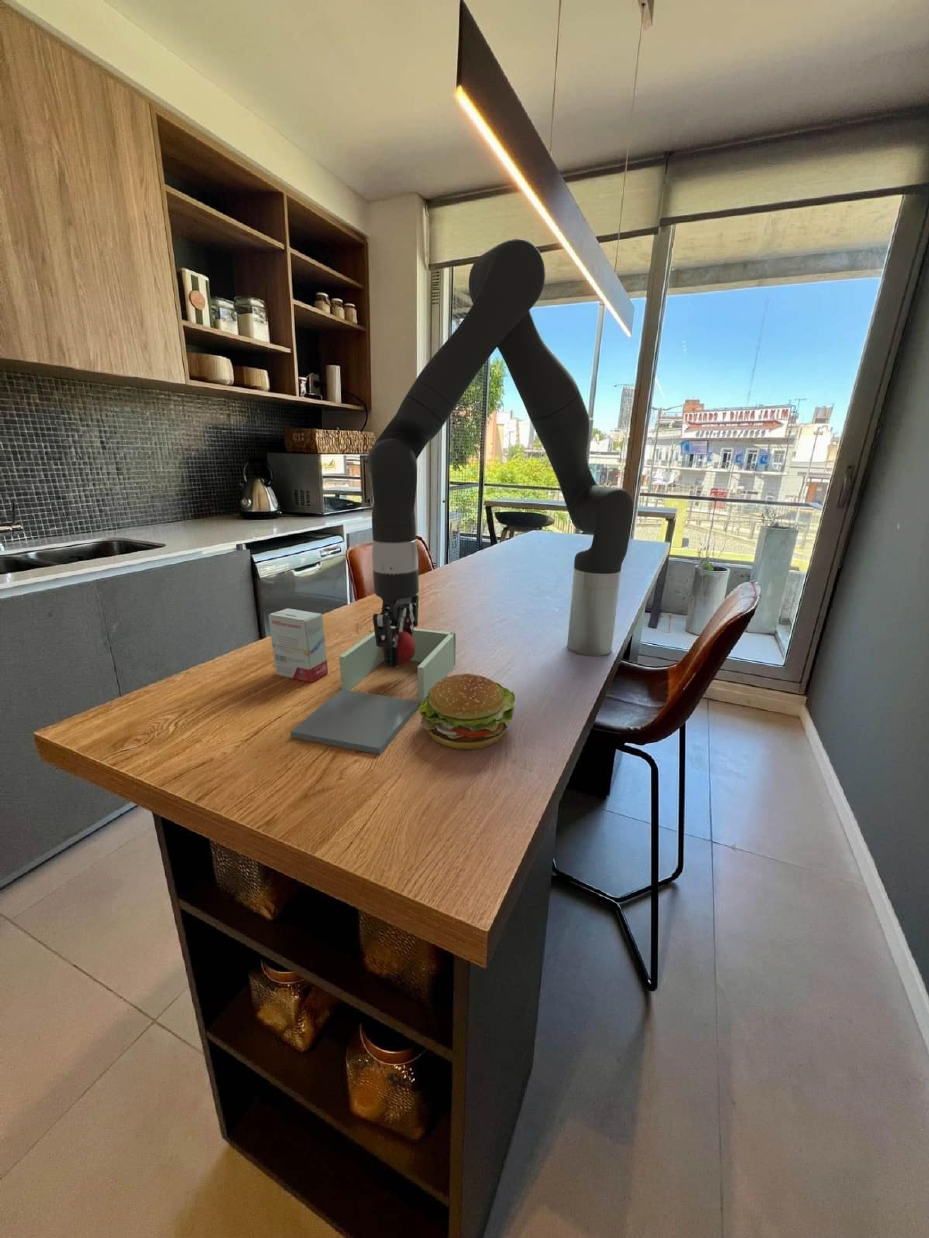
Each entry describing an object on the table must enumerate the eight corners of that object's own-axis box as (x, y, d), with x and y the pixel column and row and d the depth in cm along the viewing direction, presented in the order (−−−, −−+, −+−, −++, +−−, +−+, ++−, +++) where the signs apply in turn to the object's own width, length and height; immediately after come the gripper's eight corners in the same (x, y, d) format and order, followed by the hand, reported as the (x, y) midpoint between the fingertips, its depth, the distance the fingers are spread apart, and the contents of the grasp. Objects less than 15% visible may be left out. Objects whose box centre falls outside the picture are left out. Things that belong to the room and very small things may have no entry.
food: (487, 769, 63) (489, 714, 61) (402, 737, 70) (401, 687, 68) (531, 723, 74) (535, 675, 72) (454, 699, 81) (455, 655, 79)
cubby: (384, 655, 99) (383, 624, 97) (455, 664, 95) (455, 633, 93) (341, 691, 83) (339, 656, 81) (423, 704, 79) (423, 667, 77)
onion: (410, 675, 84) (408, 632, 81) (378, 672, 85) (376, 629, 82) (419, 662, 89) (418, 621, 87) (389, 659, 90) (388, 618, 88)
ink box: (329, 673, 90) (324, 612, 87) (311, 684, 86) (305, 620, 82) (293, 665, 94) (287, 606, 90) (274, 674, 90) (267, 613, 86)
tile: (341, 694, 82) (341, 689, 82) (418, 706, 79) (418, 701, 78) (290, 737, 70) (290, 731, 69) (380, 754, 66) (380, 748, 66)
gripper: (398, 578, 74) (402, 679, 79) (431, 559, 87) (433, 647, 92) (354, 574, 76) (361, 673, 81) (393, 557, 89) (396, 643, 94)
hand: (399, 659), depth 87 cm, fingers closed on onion, 6 cm apart
